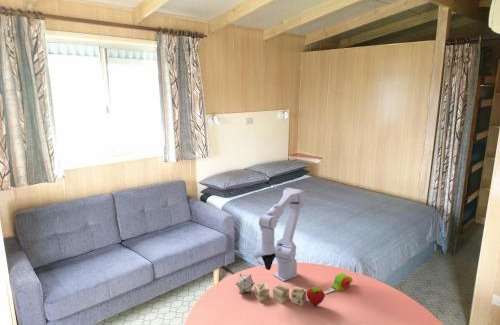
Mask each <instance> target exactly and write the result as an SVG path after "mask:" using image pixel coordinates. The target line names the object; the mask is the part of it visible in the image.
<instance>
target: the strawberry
mask: <svg viewBox="0 0 500 325" xmlns="http://www.w3.org/2000/svg"><path fill="white" fill-rule="evenodd" d="M325 295H326V294H324V291H323V290H322V289H321V288H319V286H318V287H316V285H314V286H313V287H309V289H308V290H306V299H307V300H308V302H310V303H311V305H312V306H313V307H317V306H319V305H320V304H321V303H323V301H324V299H325V297H326V296H325Z"/></svg>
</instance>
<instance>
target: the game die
mask: <svg viewBox="0 0 500 325" xmlns="http://www.w3.org/2000/svg"><path fill="white" fill-rule="evenodd" d="M235 285H236V286H237V287H238V290H239V294H240V293H249V294H252V292H251V291H252V288H253V286H254V285H256V282H254V281H253V279H252V274H249V275H244V274H243V275H242V274H241V273H239V279H238V281H236V283H235Z"/></svg>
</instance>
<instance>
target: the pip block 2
mask: <svg viewBox="0 0 500 325" xmlns="http://www.w3.org/2000/svg"><path fill="white" fill-rule="evenodd" d="M290 295H291V296H290V297H291V298H290V299H291V300H290V301H291V302H290V303H292V304H295V305H298V306H301V307H302V306H304V305H305V302H306V301H307V288H302V287H298V286H295V287H294V288H293V289H292V291H291V292H290Z"/></svg>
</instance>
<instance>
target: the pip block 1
mask: <svg viewBox="0 0 500 325" xmlns="http://www.w3.org/2000/svg"><path fill="white" fill-rule="evenodd" d="M254 296H255V297H256V300H257V301H258V302H262V301H267V300H270V288H269V286H268V285H267V284H266V282H265V283H264V282H263V283H259V284H254Z"/></svg>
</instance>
